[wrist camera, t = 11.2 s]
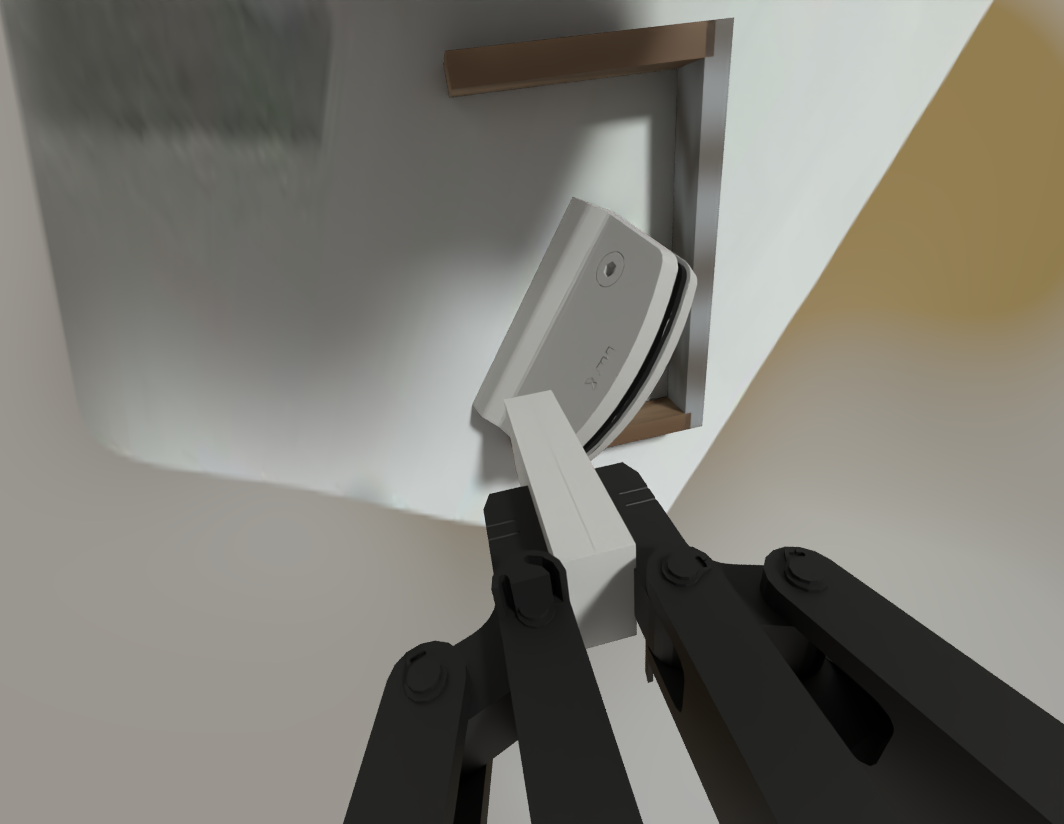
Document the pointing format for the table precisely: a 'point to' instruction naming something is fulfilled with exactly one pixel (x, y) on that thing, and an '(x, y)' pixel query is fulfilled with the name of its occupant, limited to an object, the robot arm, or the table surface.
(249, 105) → the table surface
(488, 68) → the brown u-shaped frame
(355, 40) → the table surface
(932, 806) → the robot arm
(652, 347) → the hinge
